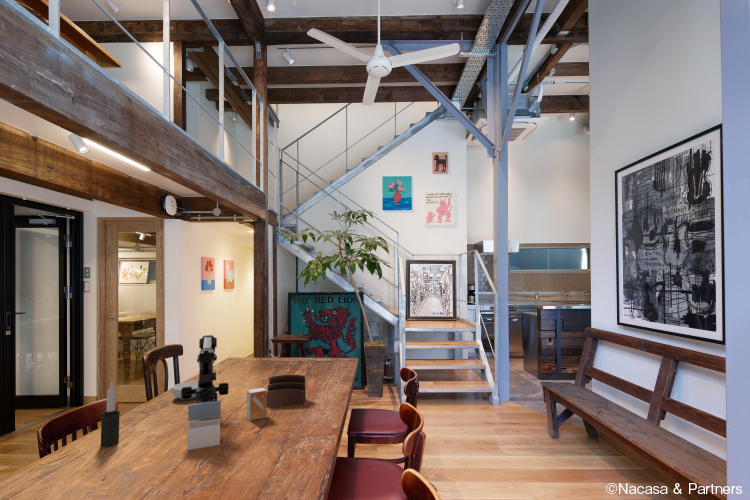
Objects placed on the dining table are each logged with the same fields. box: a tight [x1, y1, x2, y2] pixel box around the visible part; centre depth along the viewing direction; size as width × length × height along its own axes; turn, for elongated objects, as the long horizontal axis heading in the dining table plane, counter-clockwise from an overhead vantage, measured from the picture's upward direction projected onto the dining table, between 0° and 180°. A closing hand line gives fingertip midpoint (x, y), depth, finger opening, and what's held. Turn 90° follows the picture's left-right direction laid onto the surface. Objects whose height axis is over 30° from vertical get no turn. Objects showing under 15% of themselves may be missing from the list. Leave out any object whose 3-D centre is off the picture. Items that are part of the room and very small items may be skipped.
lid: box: [187, 400, 222, 422], centre depth 164 cm, size 9×12×1 cm
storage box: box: [186, 417, 221, 451], centre depth 161 cm, size 8×12×8 cm, turn 112°
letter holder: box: [267, 374, 307, 408], centre depth 211 cm, size 10×20×14 cm, turn 96°
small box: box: [246, 387, 268, 421], centre depth 190 cm, size 8×6×13 cm
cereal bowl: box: [171, 381, 198, 401], centre depth 223 cm, size 17×17×7 cm
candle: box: [100, 381, 121, 448], centre depth 162 cm, size 5×5×25 cm
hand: (204, 409), depth 164 cm, fingers closed, pressing on lid
